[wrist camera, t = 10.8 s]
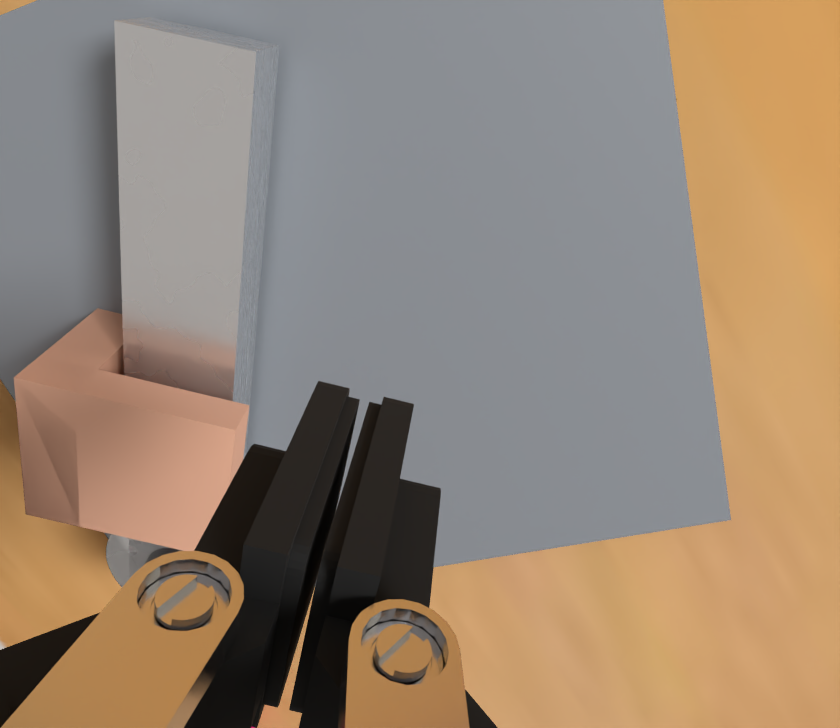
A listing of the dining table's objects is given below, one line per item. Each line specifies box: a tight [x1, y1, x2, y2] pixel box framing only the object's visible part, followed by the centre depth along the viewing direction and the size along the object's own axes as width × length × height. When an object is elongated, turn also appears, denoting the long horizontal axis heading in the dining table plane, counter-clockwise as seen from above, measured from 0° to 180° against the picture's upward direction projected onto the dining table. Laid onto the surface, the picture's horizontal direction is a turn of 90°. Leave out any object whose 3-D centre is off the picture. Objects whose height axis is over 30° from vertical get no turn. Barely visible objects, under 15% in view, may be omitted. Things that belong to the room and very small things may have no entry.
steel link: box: [106, 17, 279, 587], centre depth 25 cm, size 24×6×5 cm, turn 169°
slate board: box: [0, 0, 731, 586], centre depth 27 cm, size 26×28×2 cm
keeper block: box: [14, 308, 249, 551], centre depth 27 cm, size 6×7×7 cm
